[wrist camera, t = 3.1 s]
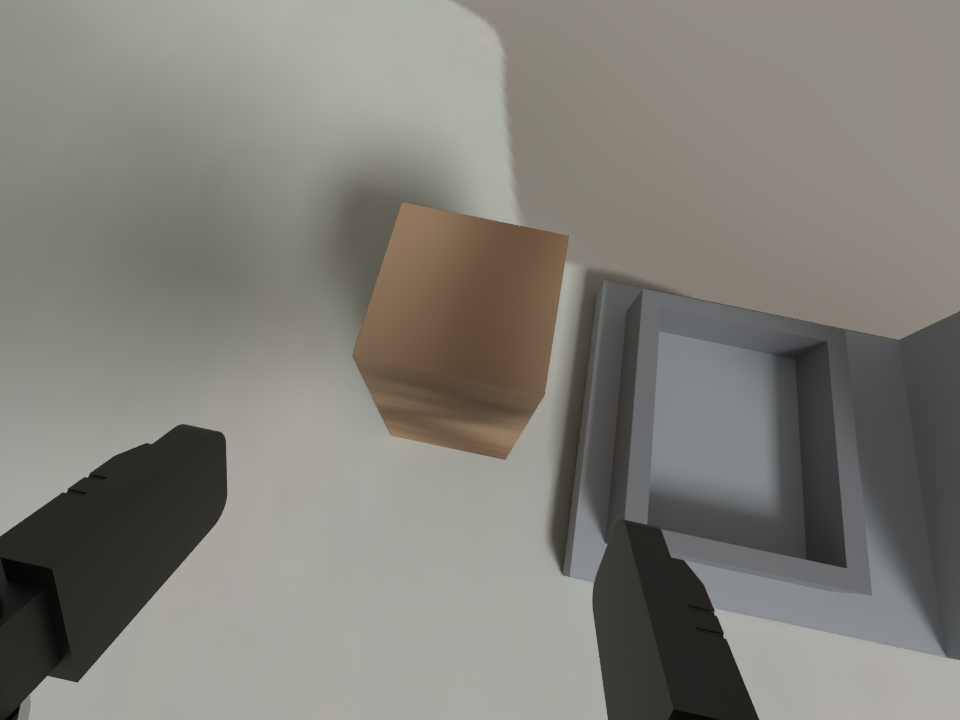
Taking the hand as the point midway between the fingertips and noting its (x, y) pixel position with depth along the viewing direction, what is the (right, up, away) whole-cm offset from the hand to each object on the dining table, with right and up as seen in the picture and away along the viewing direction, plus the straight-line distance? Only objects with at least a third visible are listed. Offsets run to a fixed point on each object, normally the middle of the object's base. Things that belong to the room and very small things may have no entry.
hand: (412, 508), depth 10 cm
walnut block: (+1, +2, +12) cm, 12 cm away
